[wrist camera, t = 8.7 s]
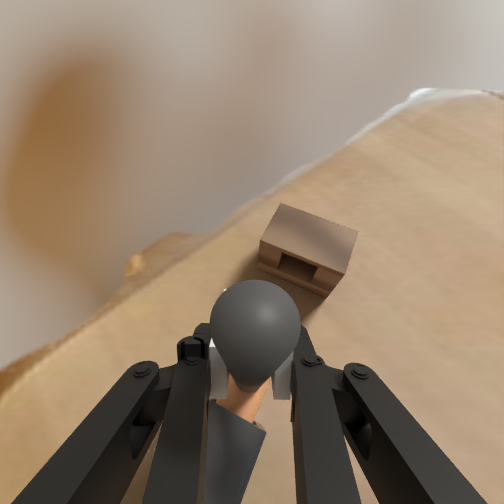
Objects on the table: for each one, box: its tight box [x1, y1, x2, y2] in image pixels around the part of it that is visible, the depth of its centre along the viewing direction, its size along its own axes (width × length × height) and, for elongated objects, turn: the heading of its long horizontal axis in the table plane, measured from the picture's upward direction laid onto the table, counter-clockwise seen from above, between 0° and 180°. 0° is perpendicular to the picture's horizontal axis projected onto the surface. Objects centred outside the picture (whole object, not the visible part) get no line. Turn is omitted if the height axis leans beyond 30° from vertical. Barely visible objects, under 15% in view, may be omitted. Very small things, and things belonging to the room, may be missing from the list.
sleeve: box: [204, 396, 266, 504], centre depth 16 cm, size 10×5×6 cm, turn 154°
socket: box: [258, 203, 359, 298], centre depth 26 cm, size 5×8×6 cm, turn 64°
